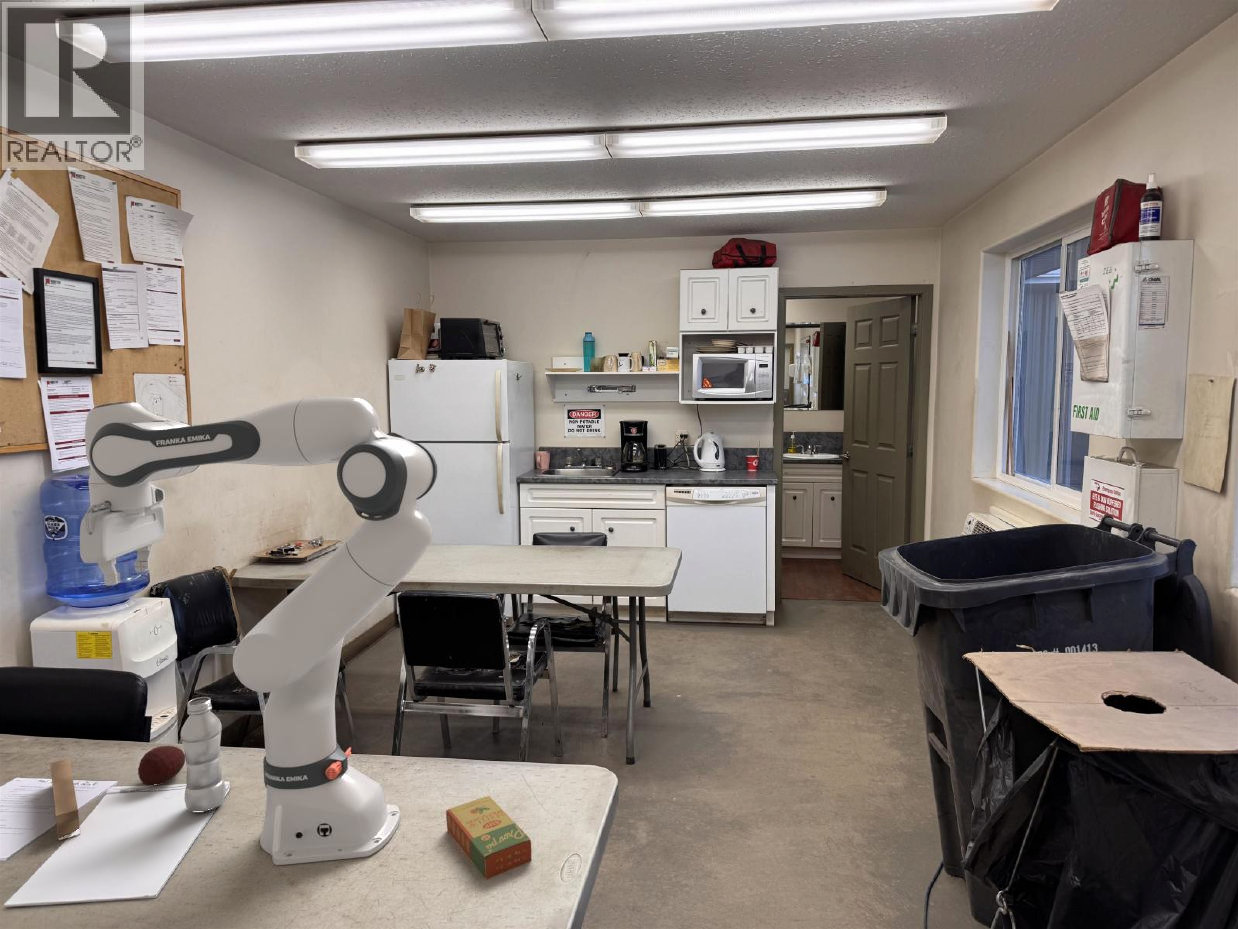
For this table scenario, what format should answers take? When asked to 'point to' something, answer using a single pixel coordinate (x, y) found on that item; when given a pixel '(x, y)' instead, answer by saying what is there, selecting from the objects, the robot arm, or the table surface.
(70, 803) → the board
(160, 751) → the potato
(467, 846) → the carton
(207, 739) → the plastic bottle
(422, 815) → the table surface
